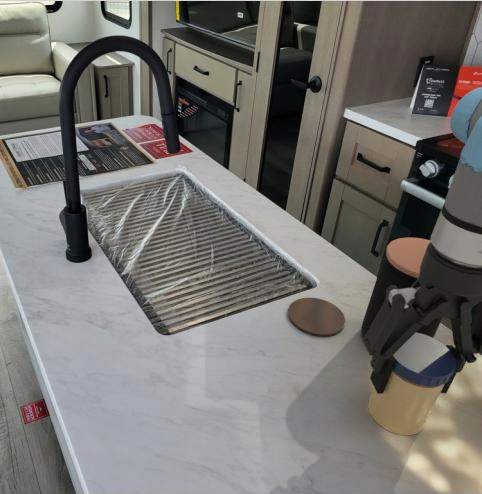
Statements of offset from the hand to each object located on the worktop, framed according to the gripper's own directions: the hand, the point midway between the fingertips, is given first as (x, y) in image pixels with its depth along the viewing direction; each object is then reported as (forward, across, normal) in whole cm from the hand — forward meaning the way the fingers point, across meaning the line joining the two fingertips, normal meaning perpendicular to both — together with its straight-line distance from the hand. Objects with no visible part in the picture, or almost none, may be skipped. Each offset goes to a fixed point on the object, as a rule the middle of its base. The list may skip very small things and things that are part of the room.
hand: (407, 385), depth 66 cm
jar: (+6, 0, 0) cm, 6 cm away
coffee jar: (+6, +6, +14) cm, 17 cm away
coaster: (+6, -6, +21) cm, 22 cm away
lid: (-6, 0, 0) cm, 6 cm away
